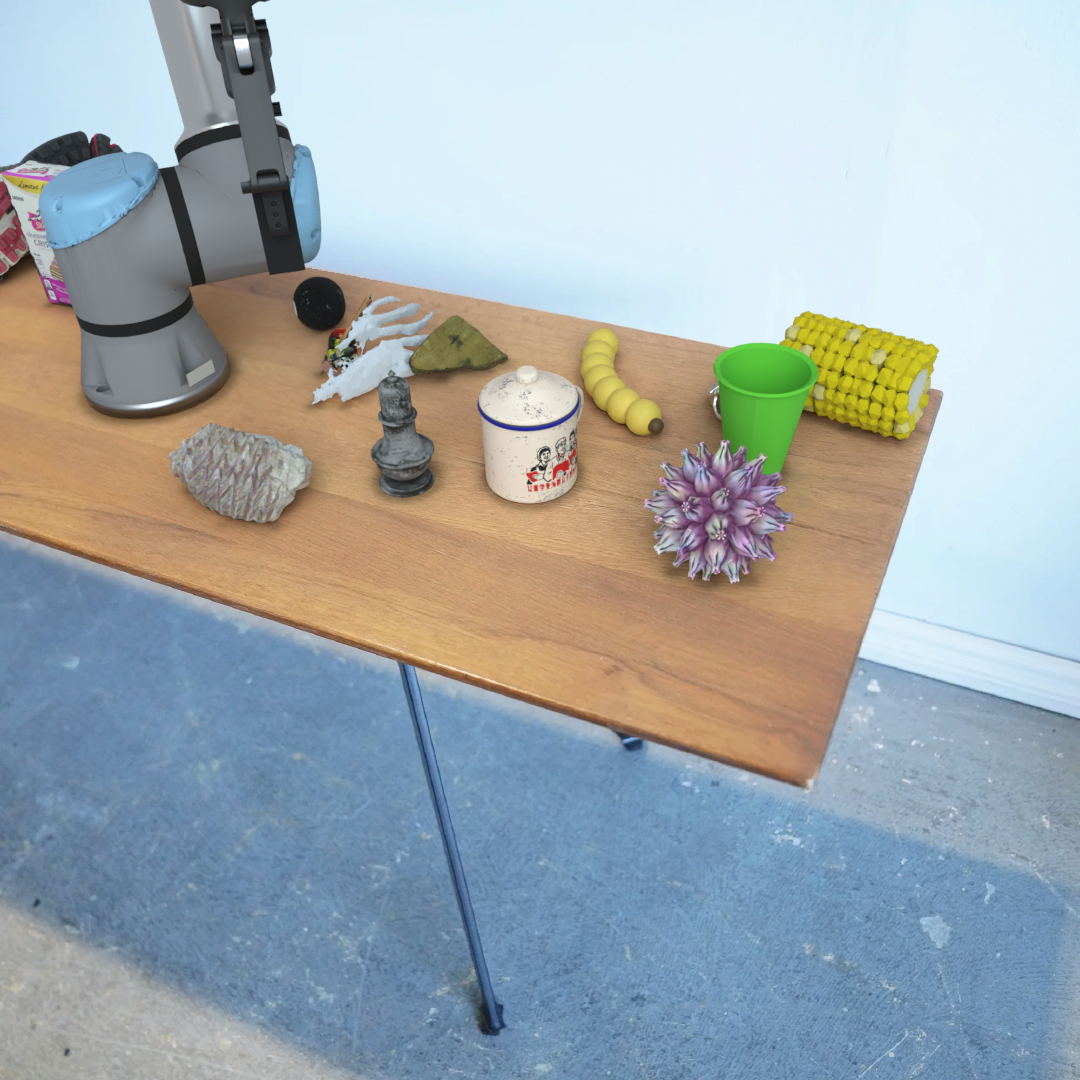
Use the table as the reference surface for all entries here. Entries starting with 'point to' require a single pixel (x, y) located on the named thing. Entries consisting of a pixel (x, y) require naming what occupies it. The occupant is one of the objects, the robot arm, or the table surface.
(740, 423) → the cup
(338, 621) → the table surface
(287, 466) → the grey ridged fossil rock
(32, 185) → the candy bar box
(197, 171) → the robot arm
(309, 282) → the billiard ball
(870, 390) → the food
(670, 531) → the flower
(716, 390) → the ornament
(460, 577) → the table surface
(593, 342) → the yellow segmented curved bar
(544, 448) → the teacup with lid
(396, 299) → the decorative object
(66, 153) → the running shoe
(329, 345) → the toy figure
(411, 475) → the grey carved upright piece
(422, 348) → the stone
